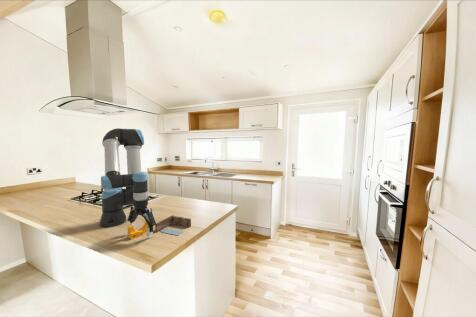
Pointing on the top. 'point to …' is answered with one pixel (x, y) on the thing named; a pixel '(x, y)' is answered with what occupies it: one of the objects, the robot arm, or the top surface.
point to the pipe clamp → (137, 231)
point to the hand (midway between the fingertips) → (141, 235)
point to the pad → (171, 231)
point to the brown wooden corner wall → (172, 222)
